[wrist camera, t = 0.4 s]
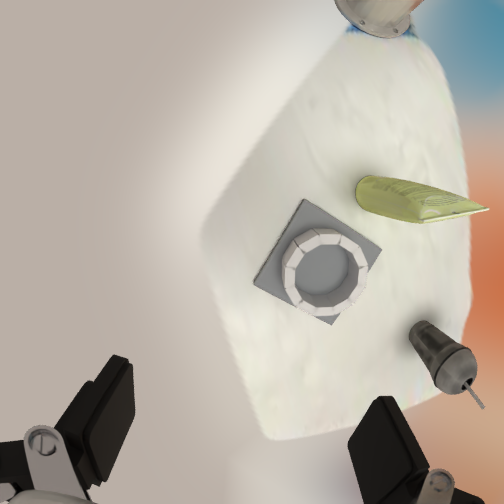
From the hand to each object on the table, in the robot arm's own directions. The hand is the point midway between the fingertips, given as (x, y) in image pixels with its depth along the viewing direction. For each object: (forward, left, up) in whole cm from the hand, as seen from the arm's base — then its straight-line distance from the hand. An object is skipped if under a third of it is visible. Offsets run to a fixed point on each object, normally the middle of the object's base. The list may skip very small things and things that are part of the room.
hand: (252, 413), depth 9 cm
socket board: (-2, +9, -30) cm, 31 cm away
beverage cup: (-1, +32, -30) cm, 44 cm away
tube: (-14, +10, -30) cm, 34 cm away
